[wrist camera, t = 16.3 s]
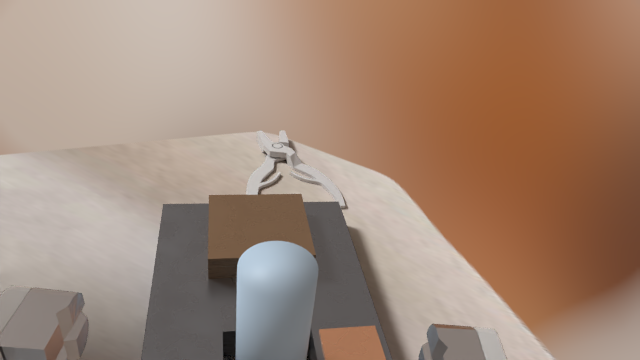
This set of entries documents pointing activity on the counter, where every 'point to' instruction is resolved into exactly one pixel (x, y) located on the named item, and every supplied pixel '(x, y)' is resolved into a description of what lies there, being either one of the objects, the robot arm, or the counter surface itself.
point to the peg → (275, 301)
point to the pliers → (285, 153)
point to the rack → (221, 277)
